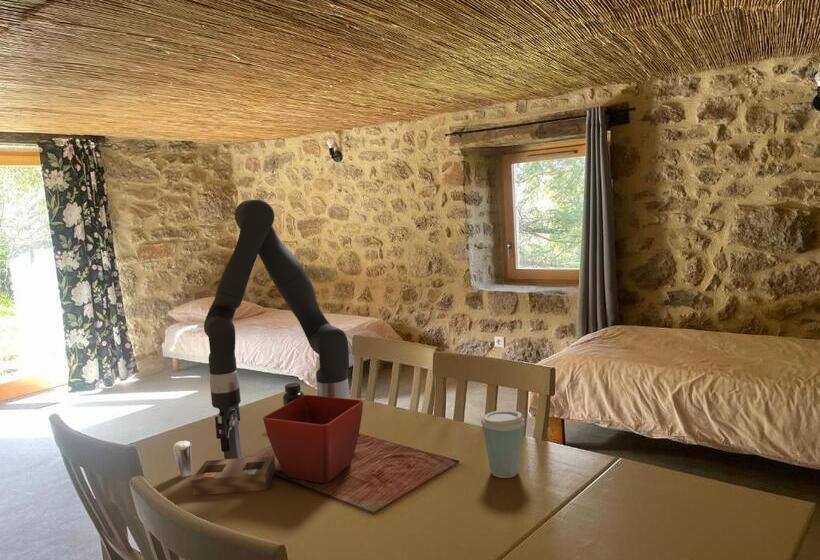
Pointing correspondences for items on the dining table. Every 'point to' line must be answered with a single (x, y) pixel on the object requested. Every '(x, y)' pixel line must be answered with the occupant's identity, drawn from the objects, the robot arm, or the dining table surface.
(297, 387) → the supplement bottle
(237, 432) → the plug
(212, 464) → the port deck
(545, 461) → the dining table surface
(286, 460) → the plant pot
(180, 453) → the milkshake
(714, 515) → the dining table surface
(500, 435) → the disposable coffee cup
